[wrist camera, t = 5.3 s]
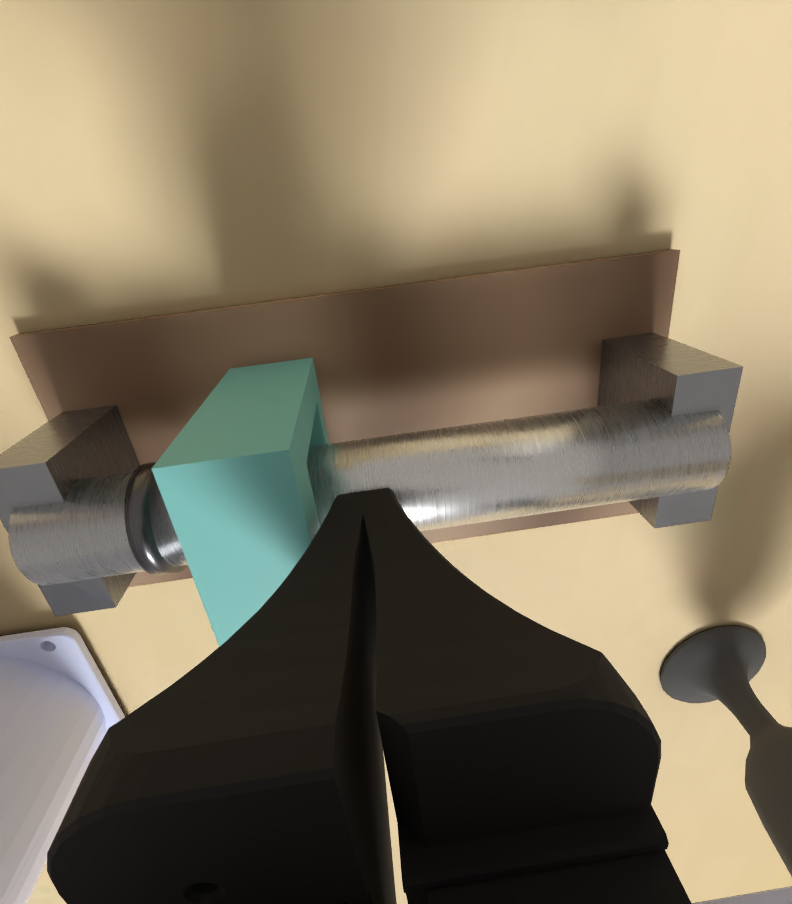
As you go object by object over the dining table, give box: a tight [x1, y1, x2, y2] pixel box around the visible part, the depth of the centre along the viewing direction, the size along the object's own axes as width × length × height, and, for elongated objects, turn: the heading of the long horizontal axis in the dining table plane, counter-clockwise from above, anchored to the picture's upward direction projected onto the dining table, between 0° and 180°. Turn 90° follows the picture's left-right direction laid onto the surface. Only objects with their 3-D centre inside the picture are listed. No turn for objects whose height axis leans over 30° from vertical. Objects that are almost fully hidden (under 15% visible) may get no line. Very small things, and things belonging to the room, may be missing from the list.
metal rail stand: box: [0, 333, 743, 616], centre depth 14 cm, size 18×4×5 cm, turn 96°
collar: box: [152, 358, 329, 647], centre depth 13 cm, size 2×6×6 cm, turn 6°
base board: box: [10, 249, 680, 587], centre depth 16 cm, size 19×9×1 cm, turn 96°
